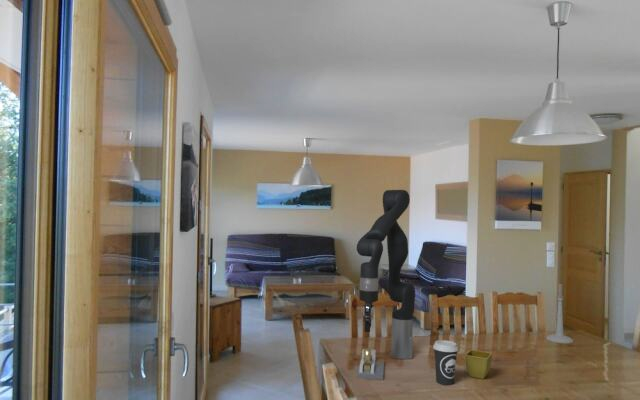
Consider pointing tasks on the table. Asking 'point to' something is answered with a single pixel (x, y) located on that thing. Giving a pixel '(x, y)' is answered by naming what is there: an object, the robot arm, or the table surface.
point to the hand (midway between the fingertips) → (367, 329)
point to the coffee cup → (445, 361)
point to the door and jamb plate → (375, 368)
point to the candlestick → (559, 322)
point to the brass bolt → (367, 359)
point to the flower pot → (478, 363)
